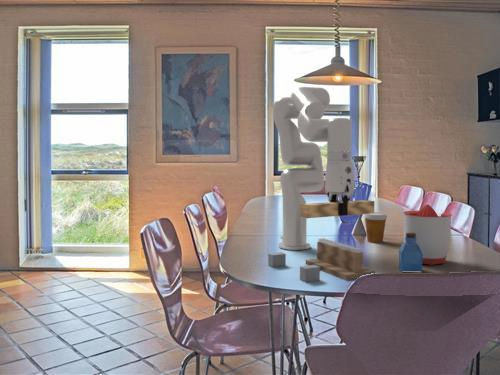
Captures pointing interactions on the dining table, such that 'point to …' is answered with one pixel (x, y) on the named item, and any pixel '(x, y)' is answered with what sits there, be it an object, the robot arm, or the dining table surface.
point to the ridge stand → (339, 260)
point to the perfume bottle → (410, 254)
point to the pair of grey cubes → (306, 272)
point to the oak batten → (335, 209)
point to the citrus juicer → (429, 233)
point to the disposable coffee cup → (375, 226)
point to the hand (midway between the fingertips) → (338, 213)
